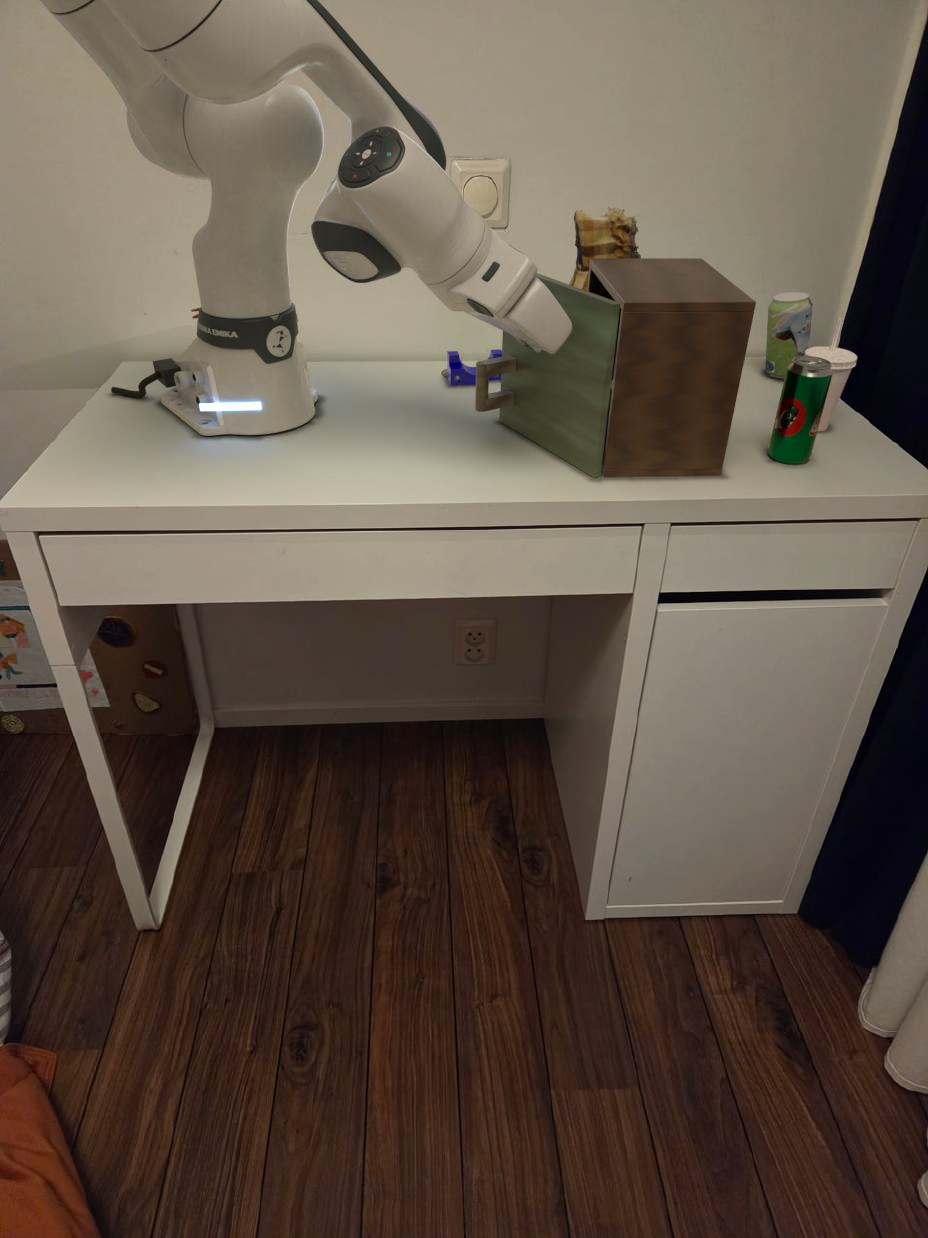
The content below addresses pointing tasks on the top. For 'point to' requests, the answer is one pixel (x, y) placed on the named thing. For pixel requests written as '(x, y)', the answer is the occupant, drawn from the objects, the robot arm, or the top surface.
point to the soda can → (800, 409)
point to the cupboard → (671, 364)
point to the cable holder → (465, 369)
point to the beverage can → (787, 331)
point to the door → (559, 381)
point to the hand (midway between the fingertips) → (536, 344)
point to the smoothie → (834, 373)
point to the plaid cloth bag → (602, 241)
